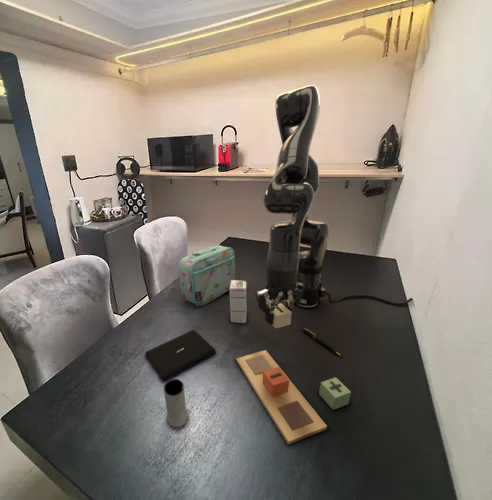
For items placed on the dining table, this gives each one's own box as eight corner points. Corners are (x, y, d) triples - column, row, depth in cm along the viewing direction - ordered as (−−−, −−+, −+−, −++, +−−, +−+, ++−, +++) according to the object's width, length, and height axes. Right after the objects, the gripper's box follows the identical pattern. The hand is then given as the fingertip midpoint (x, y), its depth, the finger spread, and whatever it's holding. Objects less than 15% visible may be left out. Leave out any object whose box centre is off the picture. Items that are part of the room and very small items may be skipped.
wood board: (265, 352, 81) (265, 349, 80) (326, 429, 58) (327, 425, 58) (235, 360, 78) (235, 357, 78) (288, 444, 56) (288, 441, 56)
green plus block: (333, 388, 68) (336, 376, 66) (348, 404, 64) (351, 391, 62) (318, 393, 67) (320, 381, 65) (332, 410, 62) (335, 397, 61)
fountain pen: (342, 357, 77) (343, 352, 77) (340, 358, 77) (340, 354, 76) (303, 329, 89) (303, 326, 89) (300, 330, 89) (301, 327, 88)
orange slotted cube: (277, 377, 71) (278, 366, 69) (288, 391, 67) (289, 379, 65) (262, 382, 70) (263, 370, 68) (272, 397, 65) (273, 384, 64)
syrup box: (246, 323, 94) (247, 288, 89) (229, 322, 95) (229, 287, 90) (246, 314, 99) (247, 280, 94) (230, 313, 101) (230, 279, 95)
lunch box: (194, 313, 102) (191, 263, 94) (178, 303, 109) (173, 256, 101) (238, 287, 118) (238, 243, 110) (221, 280, 125) (220, 238, 117)
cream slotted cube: (280, 315, 74) (281, 302, 73) (290, 324, 70) (291, 311, 69) (266, 318, 73) (266, 305, 72) (275, 328, 69) (276, 315, 68)
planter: (167, 410, 65) (163, 379, 61) (186, 408, 65) (183, 377, 61) (168, 429, 61) (163, 397, 57) (187, 426, 61) (184, 394, 57)
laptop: (143, 348, 86) (142, 343, 85) (198, 330, 93) (198, 325, 92) (157, 385, 72) (156, 380, 71) (220, 360, 79) (220, 355, 78)
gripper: (265, 275, 60) (262, 335, 67) (317, 264, 64) (309, 322, 70) (249, 263, 67) (247, 318, 73) (297, 254, 71) (291, 308, 77)
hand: (278, 320), depth 72 cm, fingers closed on cream slotted cube, 4 cm apart
